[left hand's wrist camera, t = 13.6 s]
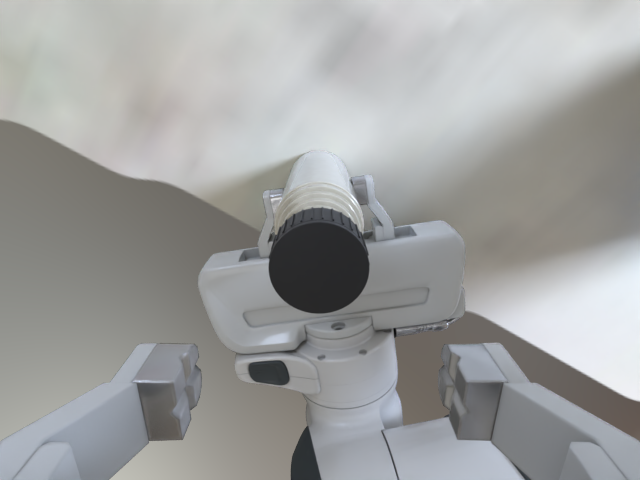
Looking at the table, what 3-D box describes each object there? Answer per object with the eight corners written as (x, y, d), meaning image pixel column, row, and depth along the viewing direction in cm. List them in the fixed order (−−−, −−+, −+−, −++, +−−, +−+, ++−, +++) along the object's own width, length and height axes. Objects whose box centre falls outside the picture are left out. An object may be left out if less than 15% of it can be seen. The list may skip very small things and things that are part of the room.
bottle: (318, 219, 34) (317, 336, 18) (277, 178, 33) (235, 265, 16) (360, 180, 33) (402, 267, 16) (319, 137, 32) (320, 184, 15)
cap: (318, 307, 19) (318, 332, 17) (253, 249, 18) (245, 268, 16) (384, 251, 18) (392, 271, 16) (320, 186, 17) (320, 199, 15)
